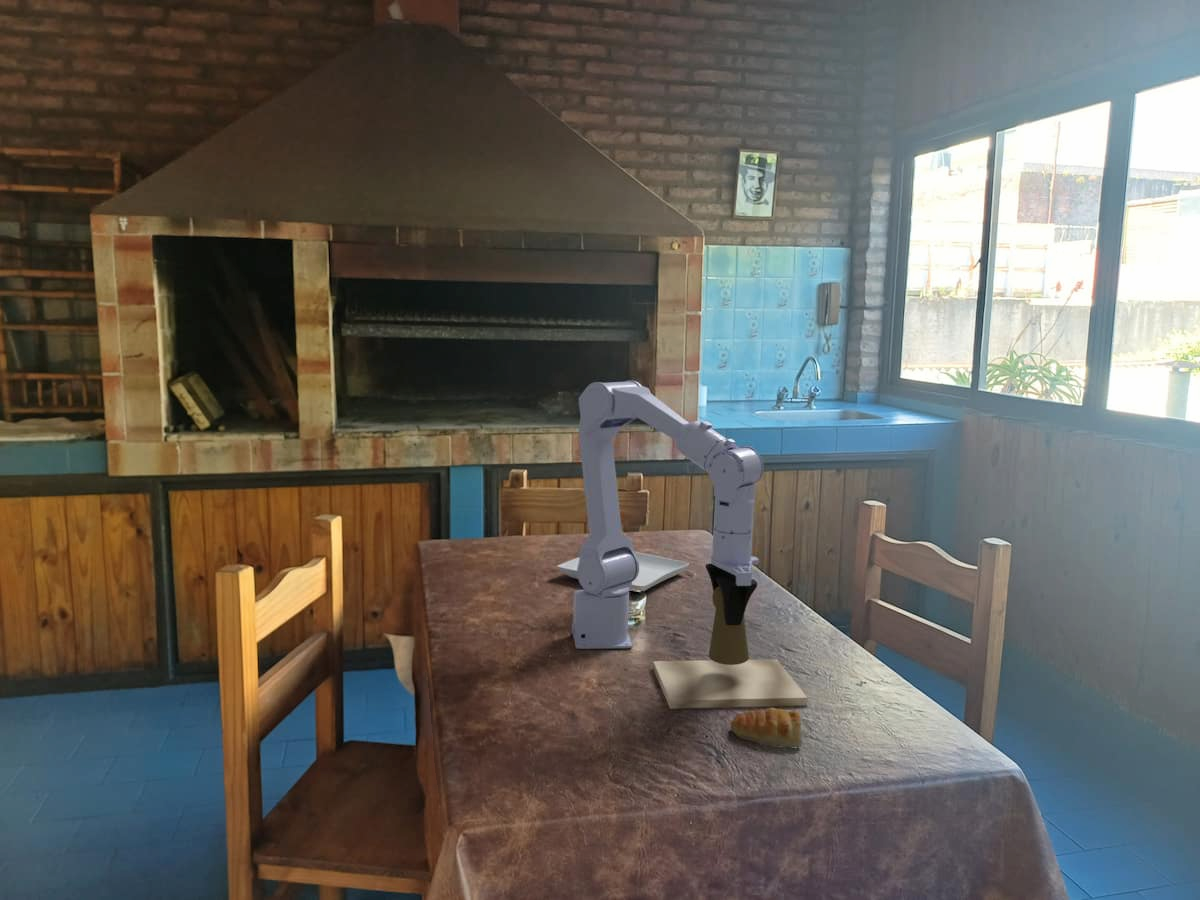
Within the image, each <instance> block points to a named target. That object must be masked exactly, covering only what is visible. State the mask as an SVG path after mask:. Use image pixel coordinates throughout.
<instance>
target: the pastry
mask: <svg viewBox="0 0 1200 900" xmlns="http://www.w3.org/2000/svg"><path fill="white" fill-rule="evenodd" d="M801 715H802V714H801V712H800V711H798V710H797V709H793V710H792V711H790V710H786V709H782V708H774V707H768V708H765V709H759V710H757V711H755V710H749V711H747V712H743V713H738V714H737V715H735V716H734V717H733V718H732V720H731V723H730V729H731V731H732V733H733V734H734V735H736V737H738V738H740V739H742V740H747V741H750V742H753V743H756V744H758V743H759V744H758V745H761V746H769V745H772V746H771V747H776V746H782V747H781V748H783V747H799V746H800V747H801V745H802V744H803V731H802V723H801V722H802V716H801ZM800 747H799V748H800Z"/></svg>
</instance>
